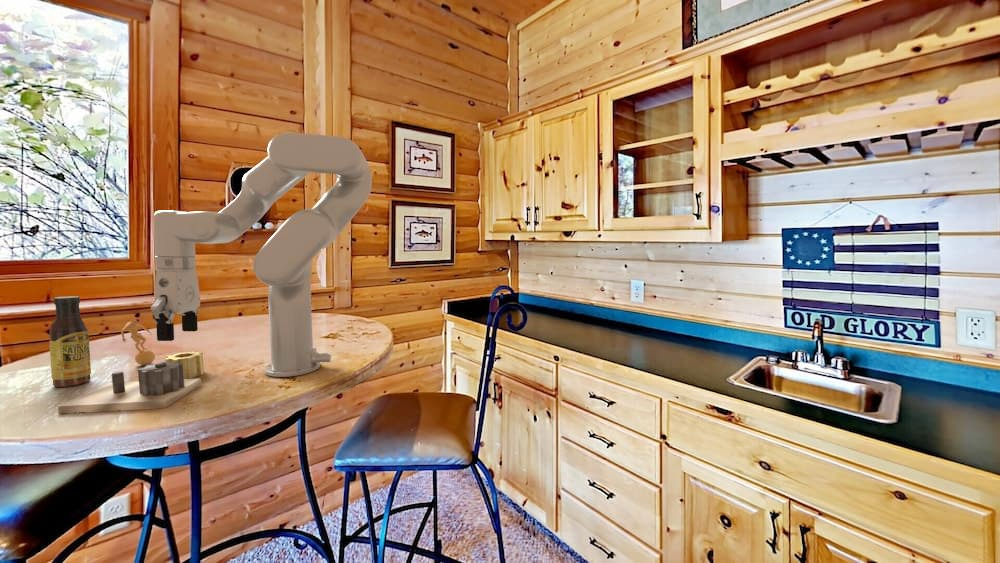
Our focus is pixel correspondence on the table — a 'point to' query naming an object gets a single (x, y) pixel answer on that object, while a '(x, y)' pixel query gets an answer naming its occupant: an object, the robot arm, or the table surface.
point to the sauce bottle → (69, 344)
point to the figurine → (143, 355)
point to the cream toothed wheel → (189, 363)
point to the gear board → (136, 391)
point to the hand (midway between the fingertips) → (178, 335)
